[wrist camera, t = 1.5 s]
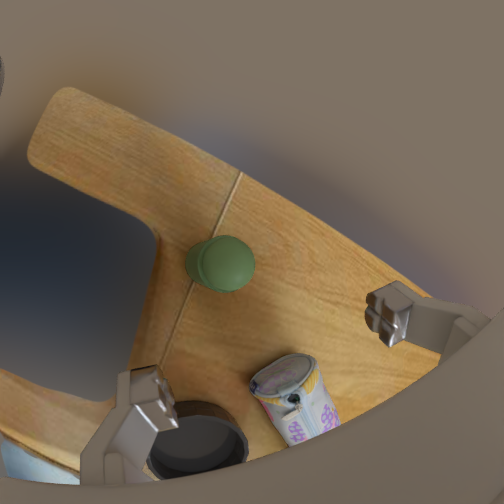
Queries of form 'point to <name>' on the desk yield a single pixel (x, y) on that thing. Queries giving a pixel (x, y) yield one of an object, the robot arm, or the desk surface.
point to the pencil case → (295, 398)
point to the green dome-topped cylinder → (221, 263)
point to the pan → (197, 442)
